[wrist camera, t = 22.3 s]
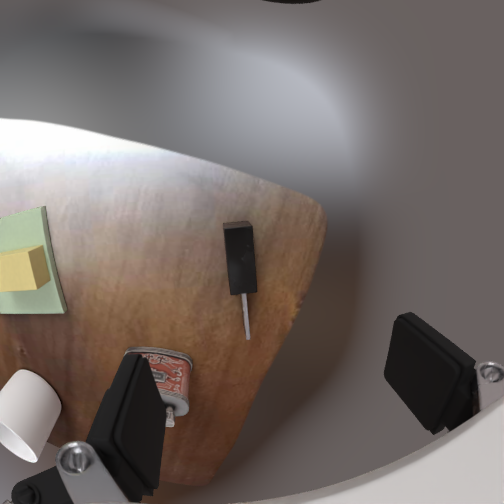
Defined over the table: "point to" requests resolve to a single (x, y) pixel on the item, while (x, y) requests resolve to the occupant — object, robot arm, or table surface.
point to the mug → (27, 414)
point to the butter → (23, 269)
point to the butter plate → (34, 234)
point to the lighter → (169, 378)
